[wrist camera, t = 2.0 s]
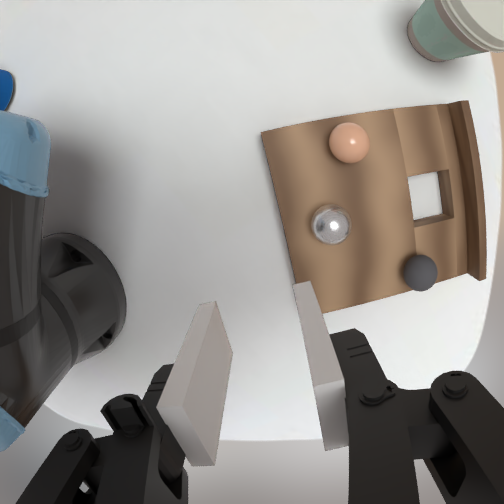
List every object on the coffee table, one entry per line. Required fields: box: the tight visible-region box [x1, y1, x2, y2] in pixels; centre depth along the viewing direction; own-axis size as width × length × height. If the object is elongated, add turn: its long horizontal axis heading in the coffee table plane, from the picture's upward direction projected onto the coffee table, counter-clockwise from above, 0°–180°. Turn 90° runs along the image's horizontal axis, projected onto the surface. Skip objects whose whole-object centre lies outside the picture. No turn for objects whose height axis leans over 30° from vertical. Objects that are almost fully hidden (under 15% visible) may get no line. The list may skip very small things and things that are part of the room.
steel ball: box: [311, 204, 352, 245], centre depth 27 cm, size 4×4×4 cm
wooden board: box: [261, 101, 487, 314], centre depth 28 cm, size 20×18×5 cm
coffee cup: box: [407, 0, 504, 62], centre depth 19 cm, size 8×8×12 cm
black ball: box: [403, 255, 438, 291], centre depth 28 cm, size 4×4×4 cm
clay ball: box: [329, 122, 370, 163], centre depth 25 cm, size 4×4×4 cm
